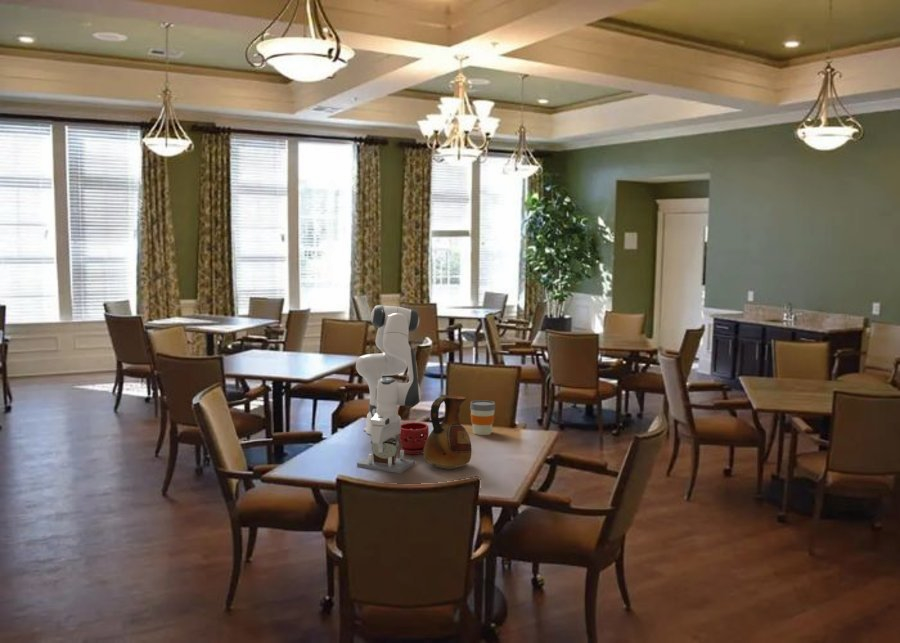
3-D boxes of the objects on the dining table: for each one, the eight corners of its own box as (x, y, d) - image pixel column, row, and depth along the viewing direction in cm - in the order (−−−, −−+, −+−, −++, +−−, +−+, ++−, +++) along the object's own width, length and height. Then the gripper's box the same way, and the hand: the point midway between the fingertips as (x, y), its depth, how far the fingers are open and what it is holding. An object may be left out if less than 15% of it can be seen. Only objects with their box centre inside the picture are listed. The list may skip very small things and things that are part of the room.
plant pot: (409, 446, 354) (409, 420, 353) (433, 451, 348) (434, 424, 346) (392, 452, 343) (393, 426, 342) (417, 457, 336) (418, 430, 335)
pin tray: (373, 458, 334) (373, 445, 333) (415, 464, 326) (415, 451, 326) (357, 466, 321) (357, 453, 321) (400, 473, 313) (400, 459, 313)
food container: (403, 461, 324) (403, 438, 323) (397, 465, 318) (397, 441, 317) (376, 458, 328) (376, 435, 327) (370, 462, 323) (370, 438, 322)
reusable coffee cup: (466, 434, 378) (467, 404, 377) (473, 428, 390) (473, 399, 389) (491, 436, 375) (492, 406, 373) (497, 430, 387) (498, 401, 385)
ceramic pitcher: (480, 466, 325) (482, 396, 322) (446, 476, 311) (447, 402, 308) (448, 456, 339) (449, 389, 336) (413, 465, 325) (415, 394, 322)
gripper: (391, 411, 332) (391, 442, 334) (368, 421, 314) (368, 454, 315) (404, 412, 330) (404, 444, 331) (382, 422, 311) (381, 456, 313)
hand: (386, 449), depth 323 cm, fingers open, 8 cm apart
